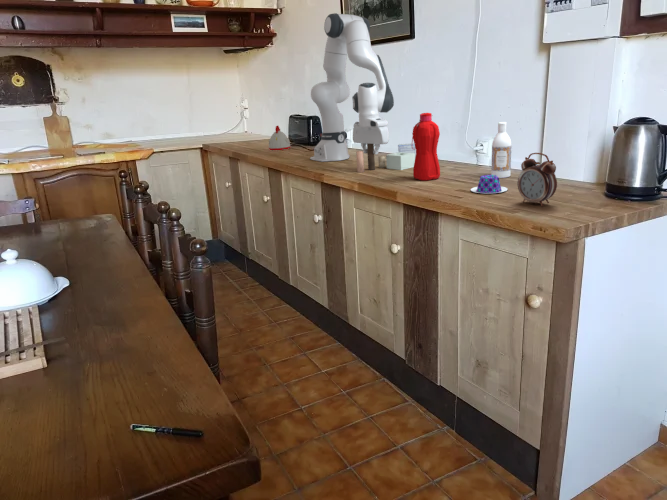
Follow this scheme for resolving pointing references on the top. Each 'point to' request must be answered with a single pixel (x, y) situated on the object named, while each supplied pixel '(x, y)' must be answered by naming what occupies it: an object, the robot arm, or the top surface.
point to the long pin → (370, 157)
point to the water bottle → (426, 148)
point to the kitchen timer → (279, 140)
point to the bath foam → (501, 153)
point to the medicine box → (407, 148)
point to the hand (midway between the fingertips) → (370, 153)
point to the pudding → (489, 185)
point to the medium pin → (360, 161)
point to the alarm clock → (537, 180)
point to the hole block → (400, 160)
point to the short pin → (381, 161)
